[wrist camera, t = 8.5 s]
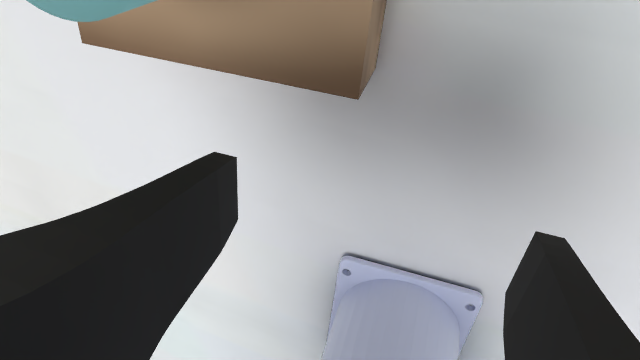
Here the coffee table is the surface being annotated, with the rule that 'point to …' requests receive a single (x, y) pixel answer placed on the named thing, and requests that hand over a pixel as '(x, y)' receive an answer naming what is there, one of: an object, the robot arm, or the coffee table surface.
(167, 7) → the walnut block
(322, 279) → the coffee table surface
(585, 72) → the coffee table surface
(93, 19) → the teal tin
